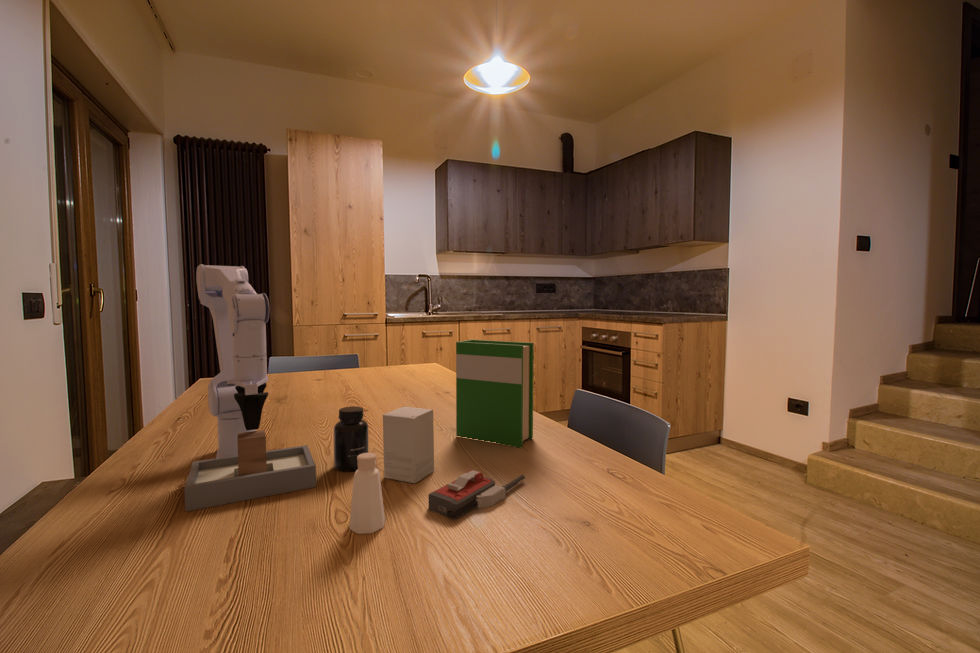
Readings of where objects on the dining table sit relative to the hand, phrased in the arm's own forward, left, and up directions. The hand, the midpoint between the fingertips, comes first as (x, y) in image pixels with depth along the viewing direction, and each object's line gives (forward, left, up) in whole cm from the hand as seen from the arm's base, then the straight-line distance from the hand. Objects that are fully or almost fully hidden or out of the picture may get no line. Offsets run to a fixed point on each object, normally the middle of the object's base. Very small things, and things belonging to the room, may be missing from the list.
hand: (252, 424), depth 87 cm
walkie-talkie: (+30, +35, -10) cm, 47 cm away
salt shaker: (+31, +15, -10) cm, 36 cm away
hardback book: (+3, +53, -10) cm, 54 cm away
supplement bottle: (+5, +18, -10) cm, 21 cm away
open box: (+6, 0, -10) cm, 12 cm away
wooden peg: (+6, 0, -9) cm, 11 cm away
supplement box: (+15, +27, -10) cm, 32 cm away
